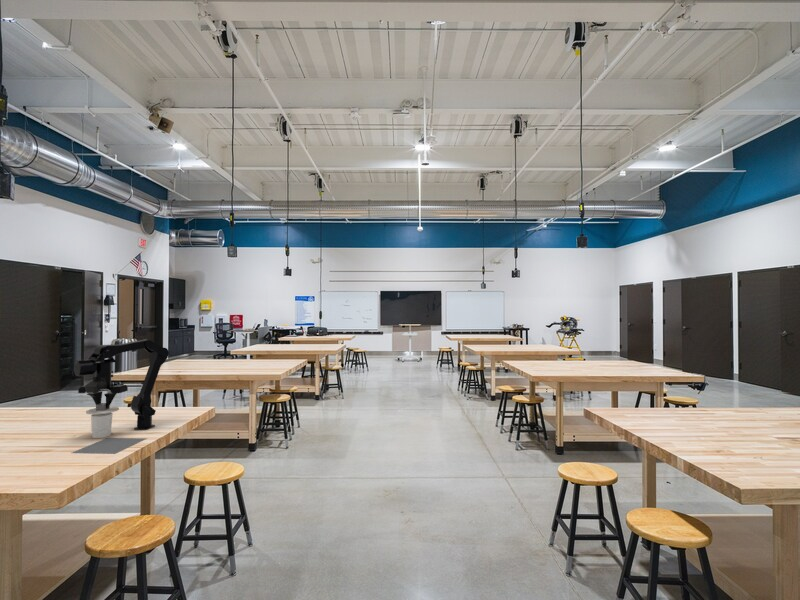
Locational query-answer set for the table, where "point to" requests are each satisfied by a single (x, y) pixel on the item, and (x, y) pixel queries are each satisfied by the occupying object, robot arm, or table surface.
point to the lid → (102, 409)
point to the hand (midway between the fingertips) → (102, 408)
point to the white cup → (101, 425)
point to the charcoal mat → (110, 445)
